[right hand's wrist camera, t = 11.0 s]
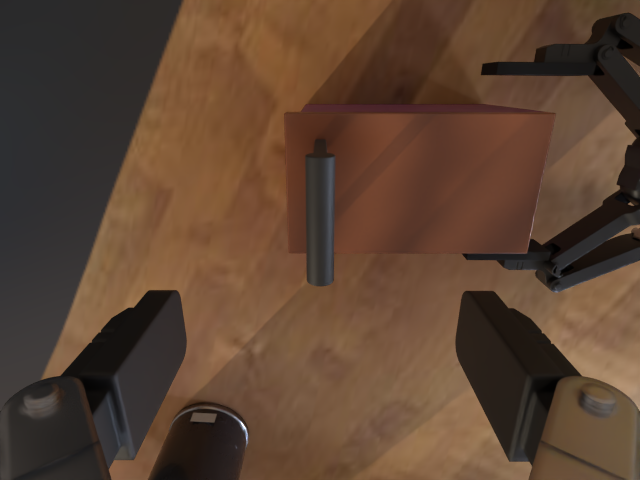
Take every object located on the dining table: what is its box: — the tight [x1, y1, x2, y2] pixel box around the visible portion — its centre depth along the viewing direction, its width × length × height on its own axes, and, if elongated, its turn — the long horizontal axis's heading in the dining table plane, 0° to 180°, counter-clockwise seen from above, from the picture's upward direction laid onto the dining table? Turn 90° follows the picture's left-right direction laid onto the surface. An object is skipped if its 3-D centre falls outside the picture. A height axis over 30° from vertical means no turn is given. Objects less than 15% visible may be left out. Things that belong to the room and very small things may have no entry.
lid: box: [284, 112, 556, 286], centre depth 23 cm, size 16×9×9 cm, turn 90°
